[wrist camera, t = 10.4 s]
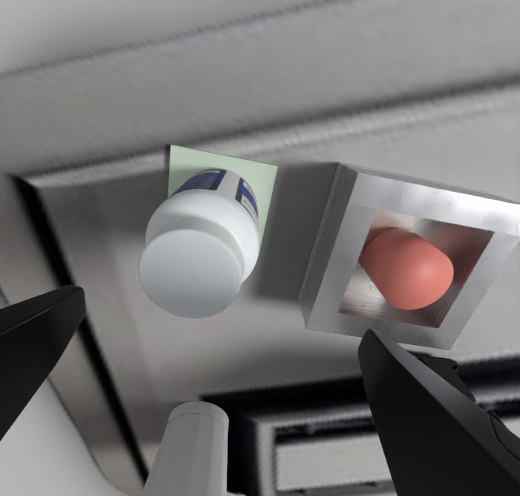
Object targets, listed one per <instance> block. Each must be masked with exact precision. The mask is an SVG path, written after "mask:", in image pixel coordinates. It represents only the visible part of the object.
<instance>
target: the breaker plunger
mask: <svg viewBox="0 0 520 496" xmlns="http://www.w3.org/2000/svg"><path fill="white" fill-rule="evenodd" d="M363 267H364V270H365V272H366V273H367V275H368V276H369V278H370V279H371V280H372V282H373V283H374V285H375V286H376V287H377V289H378V290H379V292H380V293H381V294H382V296H383V297H384V299H385V300H386V301H387V302H388V303H389V304H390V305H392V306H394V307H396V308H399V309H404V310H413V309H419V308H422V307H425V306H428V305H430V304H432V303H433V302H435V301H436V300H438V299H439V298H440V297H441V296H442V295H443V294H444V293H445V292H446V291H447V289H448V288H449V286H450V284H451V282H452V279H453V271H454V270H453V265H452V263H451V261H450V259H449V258H448V257H447V256H446V255H445V254H444V253H442V252H441V251H440V250H438V249H437V248H435V247H434V246H433V245H431V244H430V243H428V242H427V241H426V240H424V239H423V238H421V237H420V236H419V235H417V234H416V233H414V232H413V231H410V230H407V229H391V230H388V231H385V232H383V233H381V234H379V235H378V236H376V237H375V238H374V239H373V240H372V241H371V242H370V243H369V244H368V246H367V247H366V249H365V251H364V254H363Z"/></svg>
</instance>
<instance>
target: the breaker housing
mask: <svg viewBox="0 0 520 496" xmlns="http://www.w3.org/2000/svg"><path fill="white" fill-rule="evenodd" d="M391 229H407V230H410V231H413V232H414V233H416V234H417V235H419V236H420V237H421V238H423V239H424V240H426V241H427V242H428V243H430V244H431V245H433V246H434V247H435V248H437V249H438V250H440V251H441V252H442V253H444V254H445V255H446V256H447V257H448V258H449V259H450V261H451V263H452V265H453V270H454V271H453V279H452V282H451V284H450V286H449V288H448V289H447V291H446V292H445V293H444V294H443V295H442V296H441V297H440V298H439V299H438V300H436V301H435V302H433V303H432V304H430V305H428V306H425V307H422V308H419V309H413V310H404V309H399V308H396V307H394V306H392V305H390V304H389V303H388V302H387V301H386V300H385V299H384V297H383V296H382V294H381V293H380V292H379V290H378V289H377V287H376V286H375V285H374V283H373V282H372V280H371V279H370V278H369V276H368V275H367V273H366V272H365V270H364V267H363V254H364V251H365V249H366V247H367V246H368V244H369V243H370V242H371V241H372V240H373V239H374V238H375V237H376V236H378V235H379V234H381V233H383V232H385V231H388V230H391ZM519 240H520V203H518V202H515V201H512V200H509V199H505V198H502V197H499V196H496V195H493V194H490V193H487V192H482V191H477V190H472V189H467V188H462V187H457V186H453V185H448V184H443V183H438V182H433V181H428V180H423V179H418V178H414V177H409V176H404V175H399V174H394V173H389V172H384V171H379V170H375V169H370V168H365V167H360V166H355V165H350V164H345V163H341V162H339V163H338V166H337V169H336V173H335V176H334V179H333V183H332V186H331V189H330V193H329V196H328V199H327V203H326V206H325V209H324V213H323V216H322V219H321V223H320V226H319V229H318V232H317V236H316V239H315V242H314V246H313V249H312V252H311V256H310V259H309V262H308V266H307V269H306V272H305V276H304V279H303V282H302V286H301V289H300V292H299V296H298V297H299V302H300V306H301V310H302V314H303V318H304V323H305V327H306V329H308V330H315V331H322V332H329V333H336V334H343V335H349V336H356V337H363V336H364V334H365V332H366V330H367V329H375V330H380V331H382V332H383V333H384V334H386V335H387V336H388V337H390V338H391V339H392V340H393V341H395V342H398V343H404V344H411V345H418V346H425V347H432V348H439V349H446V350H450V349H451V347H452V345H453V344H454V342H455V341H456V339H457V338H458V336H459V334H460V333H461V331H462V330H463V328H464V327H465V325H466V323H467V322H468V320H469V319H470V317H471V316H472V314H473V312H474V311H475V309H476V308H477V306H478V304H479V303H480V301H481V300H482V298H483V297H484V295H485V293H486V292H487V290H488V289H489V287H490V286H491V284H492V282H493V281H494V279H495V278H496V276H497V274H498V273H499V271H500V270H501V268H502V267H503V265H504V263H505V262H506V260H507V259H508V257H509V256H510V254H511V252H512V251H513V249H514V248H515V246H516V245H517V243H518V241H519Z"/></svg>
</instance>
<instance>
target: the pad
mask: <svg viewBox="0 0 520 496" xmlns="http://www.w3.org/2000/svg"><path fill="white" fill-rule="evenodd" d="M209 168H223V169H227V170H230V171H233V172H235V173H237V174H239V175H240V176H242V177H243V178H244V179H245V180H246V181H247V182H248V183H249V185H250V186H251V187H252V189H253V191H254V193H255V196H256V199H257V204H258V223H259V252H260V247H261V243H262V238H263V233H264V229H265V224H266V219H267V215H268V210H269V205H270V201H271V196H272V191H273V187H274V182H275V177H276V173H277V168H278V166H277V165H272V164H267V163H262V162H257V161H252V160H247V159H242V158H237V157H232V156H227V155H222V154H217V153H212V152H207V151H202V150H197V149H192V148H187V147H182V146H177V145H171V150H170V167H169V184H168V198H169V197H170V196H171V195H172V194H173V193H174V192H175V191H176V190H177V189H178V188H179V187H180V186H182V185H183V184H184V183H185V182H186V181H187V180H188V179H189V178H190V177H192V176H193V175H195V174H196V173H198V172H200V171H202V170H205V169H209ZM258 257H259V253H258ZM257 259H258V258H257Z"/></svg>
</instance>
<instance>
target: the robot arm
mask: <svg viewBox="0 0 520 496" xmlns="http://www.w3.org/2000/svg"><path fill="white" fill-rule="evenodd" d="M85 312H86V305H85V294H84V289H83V288H82V287H78V286H71V285H67V286H64V287H61V288H58V289H56V290H53V291H50V292H47V293H44V294H42V295H39V296H36V297H33V298H30V299H28V300H25V301H22V302H19V303H16V304H13V305H11V306H8V307H5V308H2V309H0V441H1V440H2V438H3V437H4V435H5V434H6V432H7V431H8V430H9V428H10V427H11V425H12V424H13V423H14V421H15V420H16V419H17V417H18V416H19V415H20V413H21V412H22V411H23V409H24V408H25V406H26V405H27V404H28V402H29V401H30V399H31V398H32V397H33V395H34V394H35V393H36V391H37V390H38V389H39V387H40V386H41V384H42V383H43V382H44V380H45V379H46V378H47V376H48V375H49V373H50V372H51V371H52V369H53V368H54V366H55V365H56V364H57V362H58V360H59V359H60V357H61V356H62V354H63V352H64V351H65V349H66V347H67V345H68V344H69V342H70V340H71V338H72V337H73V335H74V333H75V332H76V330H77V328H78V326H79V325H80V323H81V321H82V319H83V318H84V315H85ZM358 356H359V361H360V366H361V371H362V376H363V381H364V386H365V391H366V395H367V399H368V403H369V406H370V410H371V413H372V416H373V419H374V422H375V426H376V429H377V432H378V435H379V438H380V442H381V445H382V448H383V451H384V454H385V458H386V461H387V464H388V467H389V470H390V474H391V477H392V480H393V483H394V486H395V490H396V493H397V496H520V438H519V437H517V436H516V435H515V434H513V433H512V432H511V431H510V430H509V429H508V428H507V427H506V426H505V425H504V423H503V422H502V421H501V420H500V419H499V418H498V416H497V415H496V414H495V413H494V412H493V411H492V409H490V410H488V411H486V412H485V411H484V410H482V409H481V408H480V407H478V406H477V405H476V404H475V402H476V399H475V397H474V396H473V394H472V393H471V392H470V391H469V389H468V388H467V387H466V386H465V384H464V383H463V382H462V380H461V379H460V378H459V377H458V375H457V374H456V373H457V371H458V370H459V368H460V365H459V364H458V363H457V362H456V361H453V360H446V359H439V358H432V357H425V356H418V355H411V354H410V353H409V352H408V351H406V350H405V349H404V348H402V347H401V346H400V345H399V344H397V343H396V342H395V341H393V340H392V339H391V338H390V337H388V336H387V335H386V334H384V333H383V332H382V331H380V330H375V329H367V330H366V332H365V334H364V336H363V338H362V340H361V343H360V345H359V348H358Z"/></svg>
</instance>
